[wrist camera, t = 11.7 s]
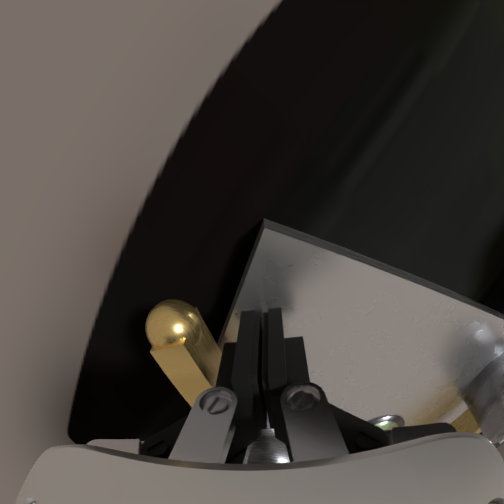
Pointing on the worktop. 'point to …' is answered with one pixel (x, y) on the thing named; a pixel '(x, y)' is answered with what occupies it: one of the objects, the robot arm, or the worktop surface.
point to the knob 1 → (197, 364)
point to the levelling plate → (369, 328)
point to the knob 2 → (485, 403)
